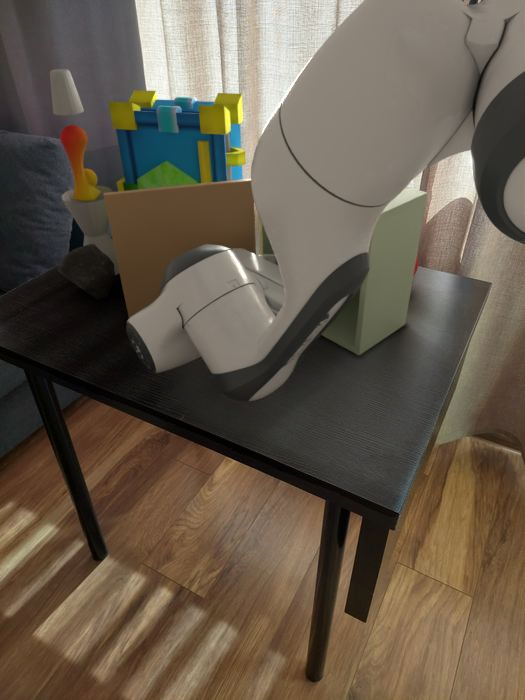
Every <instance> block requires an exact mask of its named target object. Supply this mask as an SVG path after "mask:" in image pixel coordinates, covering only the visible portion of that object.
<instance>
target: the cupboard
mask: <svg viewBox="0 0 525 700" xmlns="http://www.w3.org/2000/svg"><path fill="white" fill-rule="evenodd" d="M427 199H428V192H427V191H424V190H419V189H417V188H412V187H410V186H407V187H406V188H405V189H404V190H403V191H402V192H401V193H400V194H399V195H398V196H397V197H395V198H394V199H393V200H392V201H391V202H390V203H389V204H388V205H387V206H386V207H385V209H384V210H383V212H382V213H381V215H380V217H379V219H378V221H377V223H376V226H375V228H374V231H373V234H372V238H371V242H370V247H369V252H368V253H369V263H370V270H369V272H368V274H367V276H366V278H365V280H364V281H363V283H362V285H361V286H360V288H359V289H358V290H357V292H356V293H355V294H354V296H353V297H352V298H351V300H350V301H349V302H348V303H347V305H346V306H345V307H344V308H343V310H342V311H341V312H340V313H339V314H338V316H337V317H336V318H335V319H334V320H333V322H332V323H331V324H330V325H329V326H328V327H327V329H326V330H325V331H324V332H323V333H322V334H321V335H320V336H322V337H324V338H326V339H328V340H330V341H331V342H333V343H335V344H337V345H339V346H341V347H342V348H344V349H346V350H347V351H350V352H352V353H354V355H357V356H360V355H362V354H363V353H365V352H366V351H368V350H369V349H370V348H373V347H374V346H375V345H377V344H378V343H380V342H381V341H383V340H384V339H386V338H387V337H389V336H390V335H391V334H394V333H395V332H396V331H398V330H399V329H401V328H402V327H404V326H406V322H407V317H408V311H409V304H410V299H411V292H412V285H413V281H414V277H413V275H414V270H415V264H416V258H418V252H419V246H420V239H421V233H422V229H423V222H424V216H425V210H426V205H427ZM257 221H258V222H257V226H258V227H257V229H258V232H257V233H258V255H263V254H274V251H273V249H272V246H271V244H270V241H269V239H268V236H267V234H266V232H265V229H264V227H263V224H262V222H261V220H260V217H259V215H258V214H257Z"/></svg>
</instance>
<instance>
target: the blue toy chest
mask: <svg viewBox="0 0 525 700" xmlns="http://www.w3.org/2000/svg"><path fill="white" fill-rule="evenodd" d="M157 95H158V94H157V91H156V90H143V89H142V90H140V89H138V90H137V89H135V90H133V92H132V94H131V96H130V98H129V100H128V101H108V102H107V103H108V107H109V115H110V118H111V124H112V129H113V130H115V132H116V137H117V143H118V148H119V154H120V160H121V165H122V170H123V176H124V177H122V178H121V179H119V180H118V181H116V187H117V192H118V191H129V190H139V189H149V188H159V187H170V186H180V185H190V184H200V183H211V182H221V181H231V180H241V179H244V176H243V165H246V164H247V160H246V150H244V148H242V133H241V131H242V129H241V123H242V122H243V121H244V114H243V112H244V111H243V93H230V92H217V94H216V97H215V99H214V101H213V100H212V101H211V100H210V101H209V100H198V98H196V97H195V96H175V97H174V99H160V98H159V99H158V96H157Z"/></svg>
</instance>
